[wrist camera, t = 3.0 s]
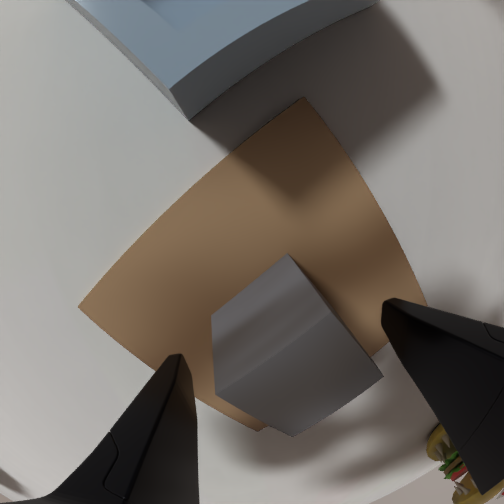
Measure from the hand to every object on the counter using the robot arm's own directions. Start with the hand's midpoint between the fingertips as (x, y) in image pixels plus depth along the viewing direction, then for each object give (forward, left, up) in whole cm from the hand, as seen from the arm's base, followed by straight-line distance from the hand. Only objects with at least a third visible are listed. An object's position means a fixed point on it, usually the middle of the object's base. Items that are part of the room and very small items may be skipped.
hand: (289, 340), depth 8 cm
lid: (0, 0, -2) cm, 2 cm away
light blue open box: (+11, -6, -2) cm, 12 cm away
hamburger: (-24, -3, -2) cm, 24 cm away
